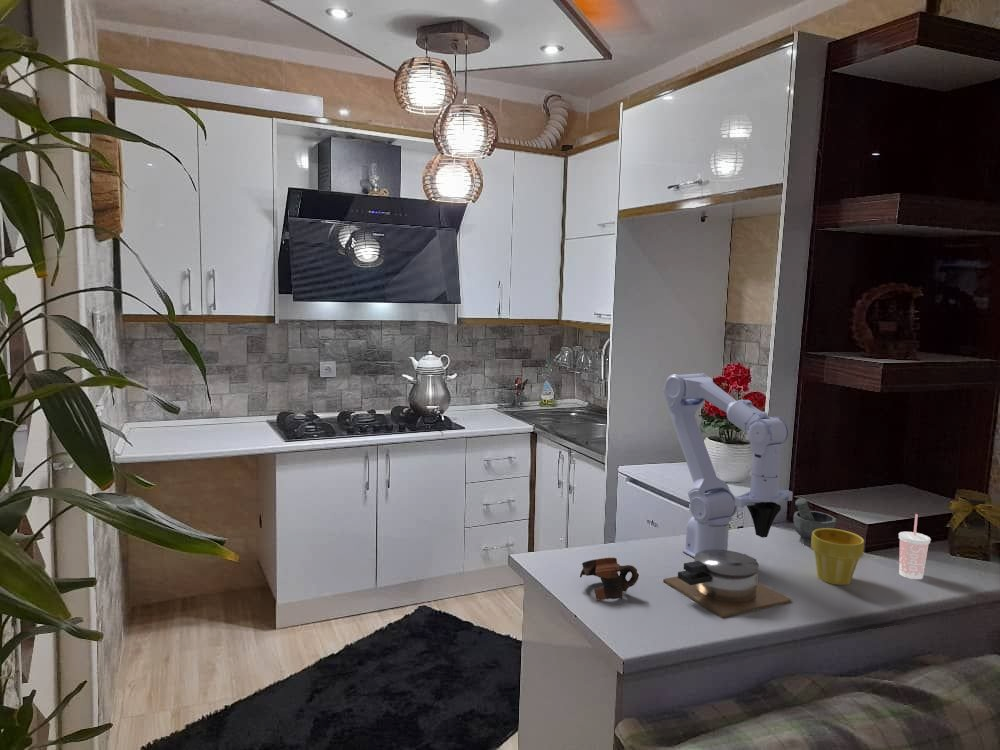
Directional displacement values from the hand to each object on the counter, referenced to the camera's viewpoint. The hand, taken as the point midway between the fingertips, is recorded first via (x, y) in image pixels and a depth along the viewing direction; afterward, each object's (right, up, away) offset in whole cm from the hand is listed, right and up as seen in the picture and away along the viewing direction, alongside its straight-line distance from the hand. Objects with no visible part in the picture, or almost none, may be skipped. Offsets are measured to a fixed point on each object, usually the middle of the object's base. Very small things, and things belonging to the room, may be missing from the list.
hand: (761, 535), depth 151 cm
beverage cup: (+35, -10, +5) cm, 37 cm away
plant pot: (+17, -10, +3) cm, 20 cm away
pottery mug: (-34, -10, -6) cm, 36 cm away
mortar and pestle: (+21, -8, +24) cm, 33 cm away
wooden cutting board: (-9, -10, -5) cm, 15 cm away
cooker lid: (-11, -5, -7) cm, 14 cm away
